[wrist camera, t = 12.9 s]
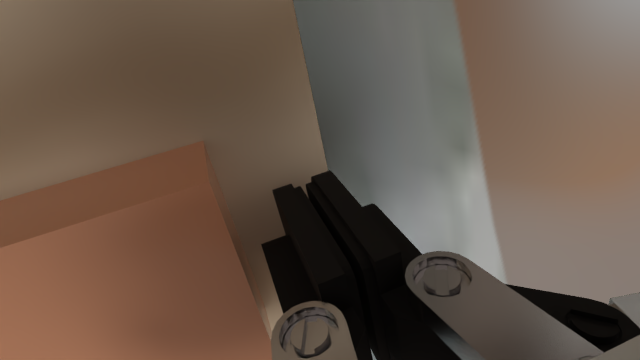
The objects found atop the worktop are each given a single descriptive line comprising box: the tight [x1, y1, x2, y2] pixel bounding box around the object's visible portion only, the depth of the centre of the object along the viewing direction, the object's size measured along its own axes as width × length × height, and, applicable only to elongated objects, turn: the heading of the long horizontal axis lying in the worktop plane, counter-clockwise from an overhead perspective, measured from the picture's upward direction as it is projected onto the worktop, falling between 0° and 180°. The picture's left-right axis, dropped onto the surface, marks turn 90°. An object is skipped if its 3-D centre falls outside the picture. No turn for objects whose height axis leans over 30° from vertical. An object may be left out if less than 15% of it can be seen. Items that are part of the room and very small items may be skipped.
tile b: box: [0, 141, 272, 360], centre depth 9 cm, size 6×6×2 cm
